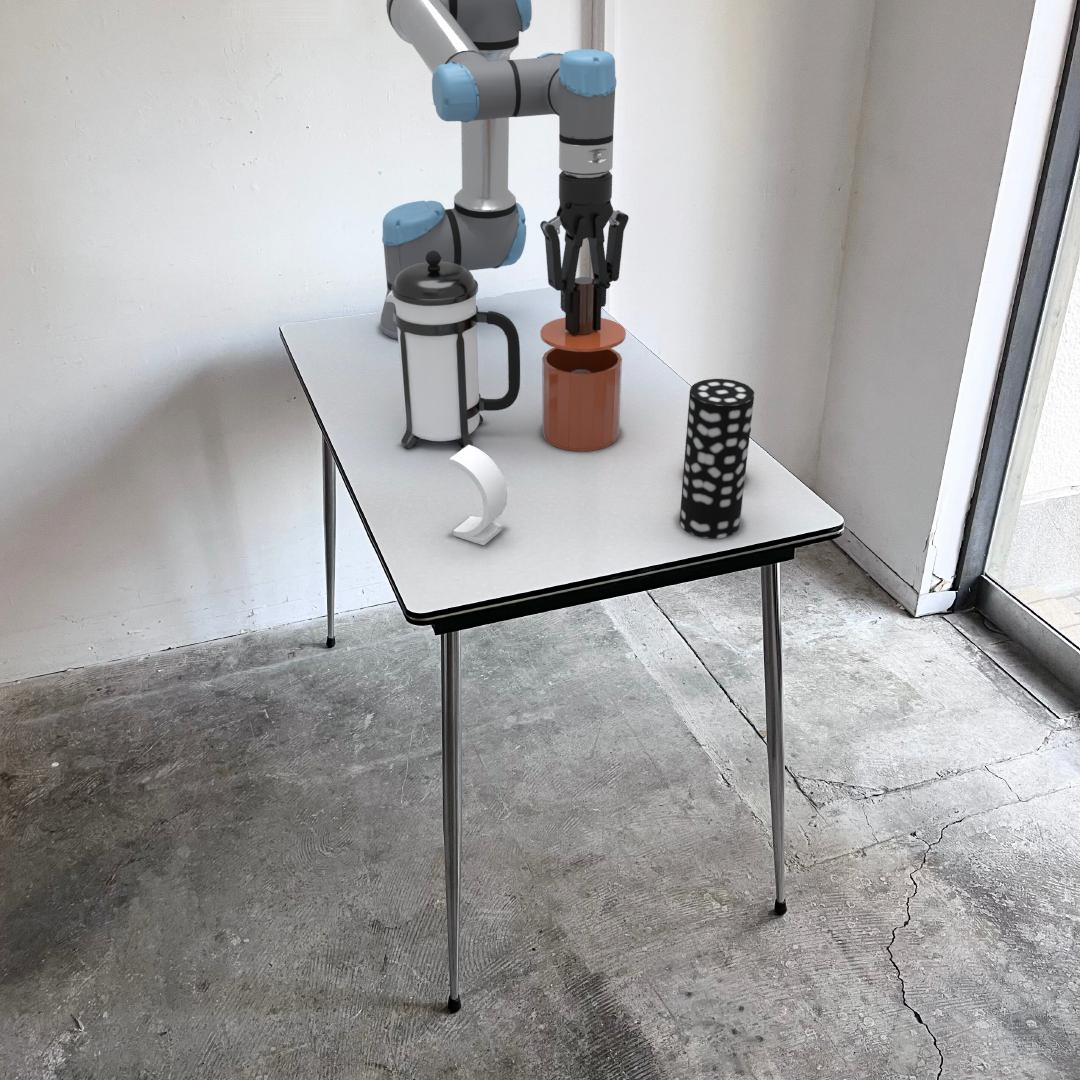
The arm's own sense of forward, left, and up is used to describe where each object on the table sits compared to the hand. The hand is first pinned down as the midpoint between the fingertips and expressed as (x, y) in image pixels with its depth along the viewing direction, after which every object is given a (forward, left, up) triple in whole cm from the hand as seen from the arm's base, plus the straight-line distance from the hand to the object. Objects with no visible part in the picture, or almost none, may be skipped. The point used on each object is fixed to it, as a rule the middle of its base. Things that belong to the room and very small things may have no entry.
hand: (582, 329), depth 165 cm
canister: (0, 0, -18) cm, 18 cm away
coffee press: (-9, -19, -18) cm, 28 cm away
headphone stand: (+21, -26, -18) cm, 38 cm away
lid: (0, 0, -1) cm, 1 cm away
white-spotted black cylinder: (+32, +4, -18) cm, 37 cm away
